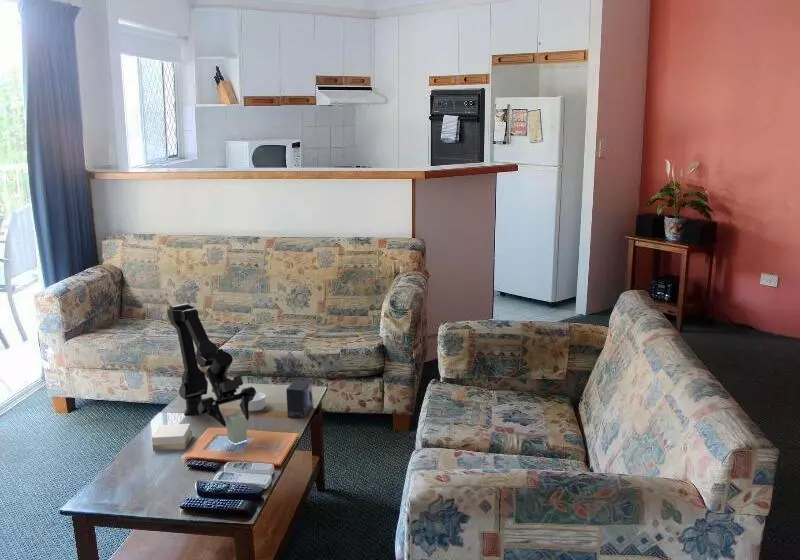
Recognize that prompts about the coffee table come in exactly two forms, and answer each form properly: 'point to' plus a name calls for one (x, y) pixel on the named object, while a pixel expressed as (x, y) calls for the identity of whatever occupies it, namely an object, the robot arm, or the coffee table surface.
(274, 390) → the coffee table surface
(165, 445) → the tower base slab
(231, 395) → the robot arm
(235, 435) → the sage block
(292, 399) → the small box
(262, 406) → the ramekin
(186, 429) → the tower top slab
